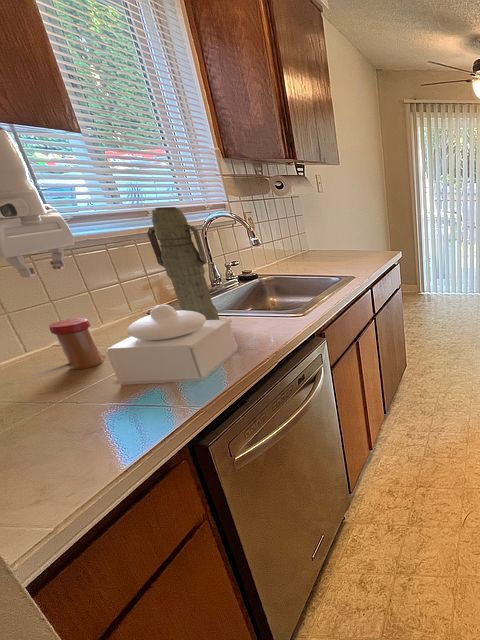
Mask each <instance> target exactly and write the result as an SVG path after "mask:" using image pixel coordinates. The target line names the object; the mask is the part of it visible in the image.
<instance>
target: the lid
mask: <svg viewBox="0 0 480 640" xmlns="http://www.w3.org/2000/svg"><path fill="white" fill-rule="evenodd" d="M48 327H49V331H50V333H51V334H52V335H55V334H68V333H74V332H78V331H82V330H85V329H87V328H89V329H90V327H91V324H90V322H89V320H88V318H85V317H76V318H69V319H63V320H59V321H55V322H53V323H50V324H49V325H48Z"/></svg>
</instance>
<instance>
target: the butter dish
mask: <svg viewBox="0 0 480 640" xmlns="http://www.w3.org/2000/svg"><path fill="white" fill-rule="evenodd" d="M149 313H150V314H149V315H146V316H143V317H140V318H138V319H137V320H135V321H133V322H132V323H130V325H129V326H128V327H127V329H126V332H127V334H128V336H129V337H127V338H125V339H123V340H121V341H119V342H117V343H115V344H113V345H111V346H109V347H108V348H106V349H107V350H106V351H105V354H106V355H107V357H108V360H109V362H110V365H111V367H112V369H113V371H114V374H115V376H116V379H117V380H118V383H119V384H120V385H121V386H124V385H125V386H127V385H147V384H165V383H166V384H168V383H180V382H181V383H186V382H188V383H189V382H203V381H204V380H206V379H207V378H208V377H209V376H210V375H211V374H213V373H214V372H215V371H216V370H217V369H218V368H220V367H221V366H222V365H223V364H225V362H227V361H228V360H229V359H230V358H231V357H233V356H234V355H235V354H236V353H238V352H239V349H238V345H237V342H236V339H235V336H234V332H233V328H232V325H231V323H232V319H231V318H228V319H227V318H225V319H220V320H206V317H205V316H204V315H202V314H201V313H198V312H194V311H184V310H181V309H180V310H176V309H175V308H174V307H173V306H171V305H169V304H167V303H166V304H165V303H164V304H163V303H160V304H157V305H155V306H153V307H152V309H150V312H149Z"/></svg>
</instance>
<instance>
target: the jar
mask: <svg viewBox="0 0 480 640" xmlns="http://www.w3.org/2000/svg"><path fill="white" fill-rule="evenodd" d="M54 335H55V337H56V340H57V342H58V344H59V347H60V348H61V350H62V352H63V354H64V356H65V358H66V361H67V363H68V364H69V367H70V368H71V369H72V370H85V369H89V368H93V367H96V366H99V365H101V364H102V363H104V358H103V356H102V355H101V352H100V350H99V347H98V345H97V342H96V340H95V338H94V336H93V333H92V331H91V329H90V327H89V328H87V329H85V330H82V331H78V332H74V333H68V334H54Z"/></svg>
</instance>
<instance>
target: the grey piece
mask: <svg viewBox="0 0 480 640" xmlns="http://www.w3.org/2000/svg"><path fill="white" fill-rule="evenodd" d="M151 223H152V227H149V228H148V230H147V233H146V234H147V237H148V240H149V242H150V244H151V247H152V250H153V252H154V254H155V257H156V261H157V264H158V265H159V266H161V267H163V268H164V270H165V273H166V276H167V277H168V278H169V279H170V281H171V285H172V287H173V290H174V293H175V295H176V299H177V302H178V305H179V308H180V311H181V310H184V311H194V312H198V313H201V314H202V315H204V316H205V317H206V320H221V319H220V316H219V313H218V310H217V307H216V306H215V305H214V303H213V301H212V297H211V294H210V291H209V288H208V284H207V281H206V277H205V272H206V271H205V268H204V265H207V264H208V262H207V261H208V260H207V257H206V253H205V250H204V246H203V242H202V239H201V236H200V232H199V230H198V229H197V227H195V225H191V224H189V223H188V219H187V218H186V216H185V214H184V213H183V211H182V210H181V208H178V207H176V206H163V207H161V206H160V207H154V209H151ZM191 232H192V233H193V236H194V240H195V243H196V245H195V243H194V242H193V239H192V238H193V236H192V233H191ZM196 246H197V247H196Z"/></svg>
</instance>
